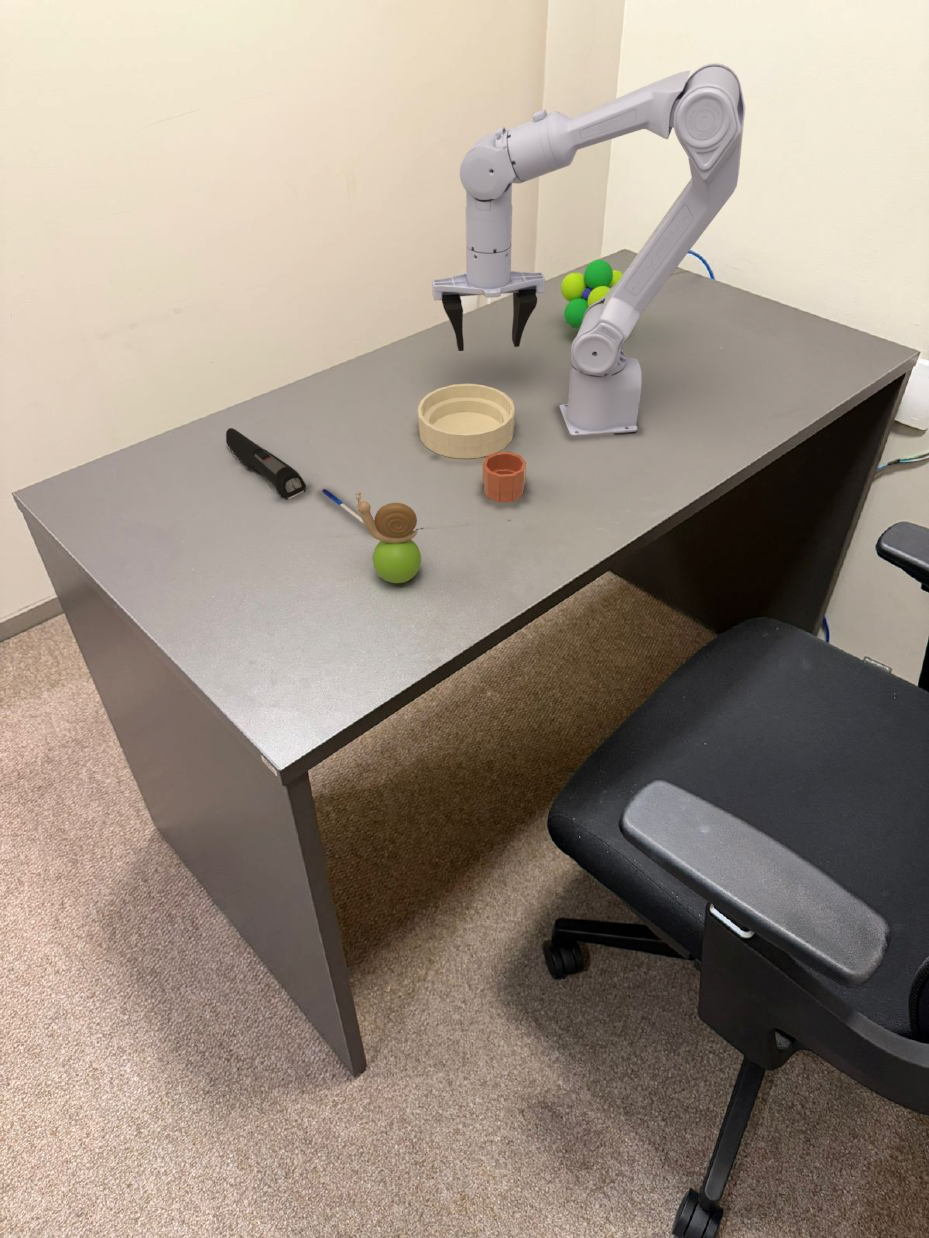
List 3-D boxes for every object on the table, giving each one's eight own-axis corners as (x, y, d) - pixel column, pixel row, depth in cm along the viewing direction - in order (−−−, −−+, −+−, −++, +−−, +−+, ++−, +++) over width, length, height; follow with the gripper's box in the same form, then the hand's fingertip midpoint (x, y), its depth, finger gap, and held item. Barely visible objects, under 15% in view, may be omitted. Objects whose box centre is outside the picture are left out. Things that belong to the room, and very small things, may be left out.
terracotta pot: (513, 477, 112) (514, 447, 109) (531, 500, 108) (533, 470, 105) (476, 486, 110) (476, 457, 107) (493, 510, 107) (494, 480, 104)
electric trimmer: (246, 441, 119) (241, 421, 117) (309, 489, 110) (305, 469, 108) (222, 452, 117) (217, 432, 115) (284, 502, 109) (279, 481, 106)
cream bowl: (505, 406, 124) (505, 380, 121) (521, 457, 115) (522, 430, 112) (415, 414, 123) (414, 387, 120) (424, 465, 114) (422, 438, 111)
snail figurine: (366, 563, 100) (355, 478, 92) (421, 560, 100) (415, 474, 92) (366, 595, 96) (355, 509, 88) (423, 591, 96) (417, 505, 88)
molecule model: (584, 295, 142) (553, 276, 135) (631, 271, 136) (601, 250, 130) (591, 344, 140) (560, 327, 134) (638, 322, 135) (608, 303, 128)
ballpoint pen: (319, 495, 110) (318, 489, 109) (325, 492, 110) (324, 486, 109) (371, 533, 104) (370, 526, 103) (376, 529, 105) (376, 523, 104)
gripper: (434, 261, 105) (438, 363, 114) (551, 253, 106) (545, 355, 115) (428, 239, 110) (433, 339, 119) (540, 231, 111) (536, 331, 120)
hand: (488, 345), depth 118 cm, fingers open, 7 cm apart
